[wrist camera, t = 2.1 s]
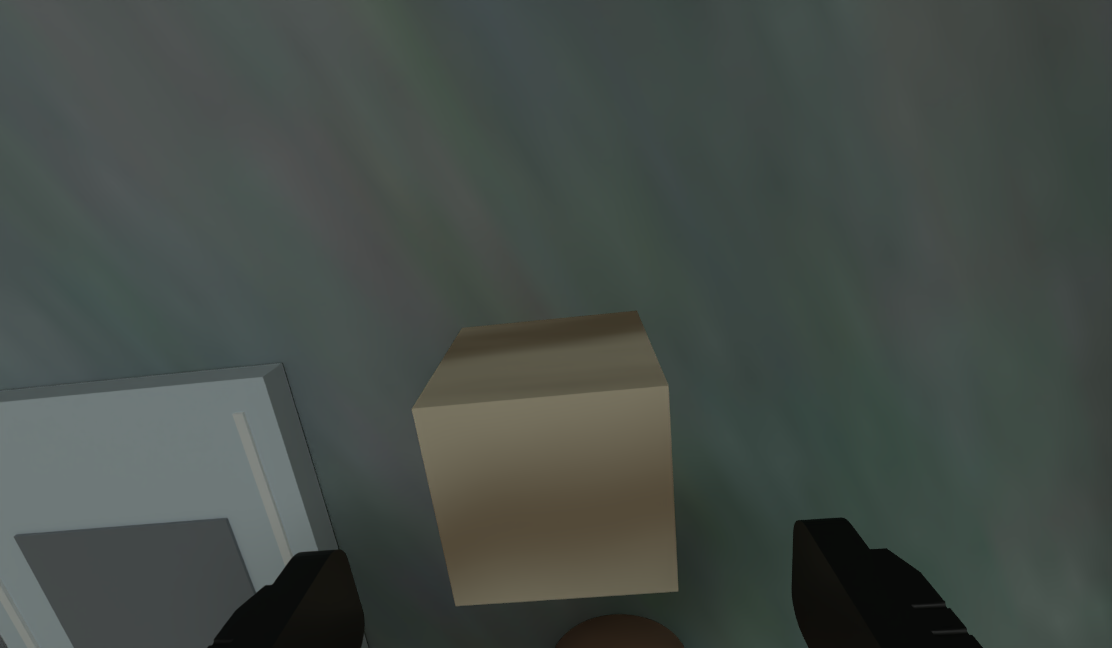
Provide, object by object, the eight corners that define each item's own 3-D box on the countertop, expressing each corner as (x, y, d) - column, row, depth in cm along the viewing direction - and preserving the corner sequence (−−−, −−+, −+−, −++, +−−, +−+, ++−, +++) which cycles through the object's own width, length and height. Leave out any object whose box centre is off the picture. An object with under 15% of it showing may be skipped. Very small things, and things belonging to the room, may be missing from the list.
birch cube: (462, 327, 15) (411, 408, 10) (636, 309, 14) (668, 385, 10) (488, 474, 16) (455, 606, 12) (646, 462, 16) (678, 591, 11)
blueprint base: (-90, 399, 16) (-135, 416, 15) (281, 362, 15) (260, 378, 14) (109, 752, 21) (84, 783, 20) (395, 737, 20) (386, 769, 19)
